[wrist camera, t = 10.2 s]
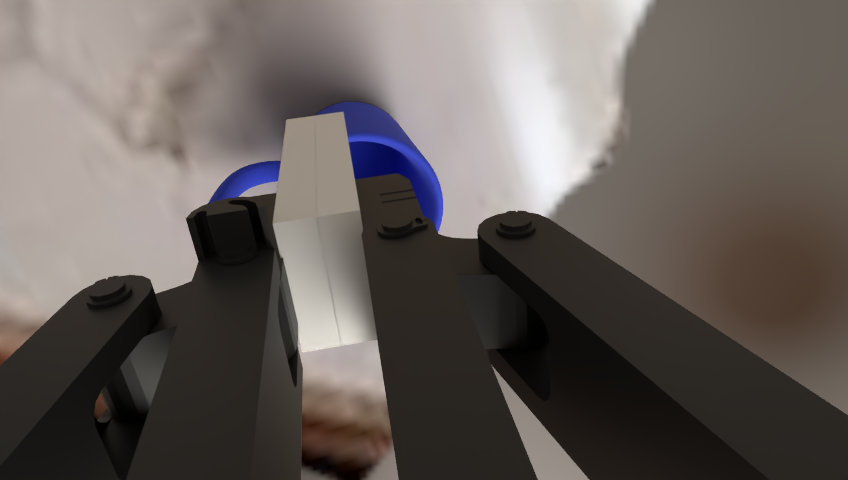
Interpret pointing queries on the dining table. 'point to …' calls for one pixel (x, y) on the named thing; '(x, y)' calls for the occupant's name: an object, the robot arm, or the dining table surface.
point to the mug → (361, 158)
